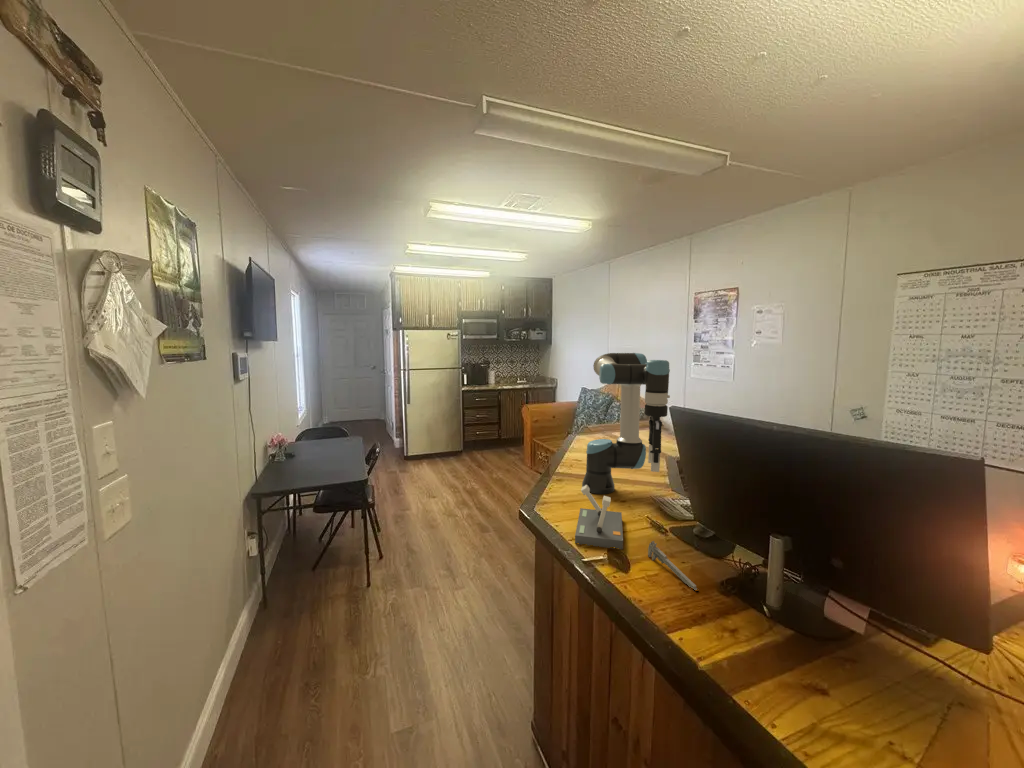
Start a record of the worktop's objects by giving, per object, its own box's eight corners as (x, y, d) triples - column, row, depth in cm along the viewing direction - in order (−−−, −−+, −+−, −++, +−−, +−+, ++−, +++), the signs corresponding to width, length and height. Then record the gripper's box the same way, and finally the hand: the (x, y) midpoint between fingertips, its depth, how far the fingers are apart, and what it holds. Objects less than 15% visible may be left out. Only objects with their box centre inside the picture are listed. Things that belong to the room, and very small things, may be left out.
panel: (580, 515, 164) (580, 507, 164) (621, 519, 161) (621, 511, 160) (574, 543, 141) (575, 534, 141) (622, 549, 137) (623, 540, 137)
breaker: (599, 513, 160) (581, 487, 160) (604, 510, 159) (586, 484, 160) (598, 517, 156) (581, 490, 156) (604, 515, 155) (586, 487, 156)
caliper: (647, 557, 133) (648, 539, 132) (650, 557, 133) (651, 538, 133) (696, 593, 114) (697, 572, 113) (699, 592, 114) (700, 571, 114)
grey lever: (595, 527, 146) (603, 495, 144) (602, 529, 146) (610, 497, 144) (595, 532, 142) (603, 499, 140) (601, 534, 142) (610, 501, 140)
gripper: (672, 409, 130) (669, 477, 132) (663, 400, 152) (661, 459, 154) (647, 408, 132) (644, 475, 134) (642, 399, 154) (640, 457, 156)
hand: (653, 466), depth 144 cm, fingers open, 10 cm apart
